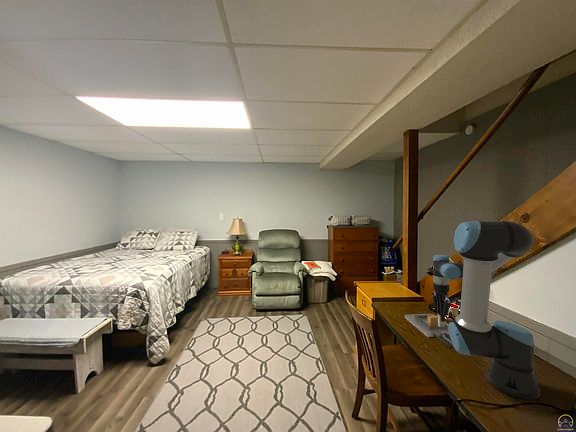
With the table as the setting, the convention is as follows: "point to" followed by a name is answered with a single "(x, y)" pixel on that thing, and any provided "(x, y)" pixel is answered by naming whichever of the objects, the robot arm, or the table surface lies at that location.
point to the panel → (422, 324)
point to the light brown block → (433, 320)
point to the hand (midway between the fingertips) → (441, 326)
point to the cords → (445, 339)
